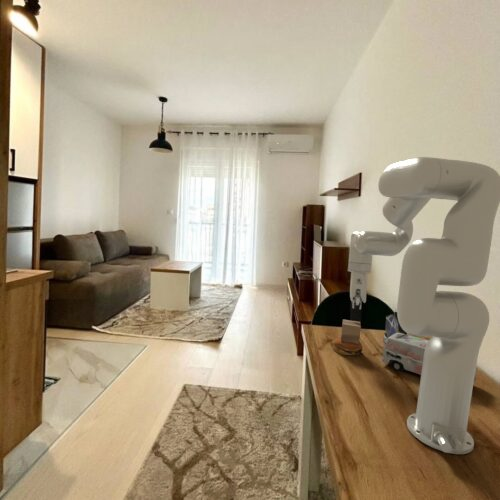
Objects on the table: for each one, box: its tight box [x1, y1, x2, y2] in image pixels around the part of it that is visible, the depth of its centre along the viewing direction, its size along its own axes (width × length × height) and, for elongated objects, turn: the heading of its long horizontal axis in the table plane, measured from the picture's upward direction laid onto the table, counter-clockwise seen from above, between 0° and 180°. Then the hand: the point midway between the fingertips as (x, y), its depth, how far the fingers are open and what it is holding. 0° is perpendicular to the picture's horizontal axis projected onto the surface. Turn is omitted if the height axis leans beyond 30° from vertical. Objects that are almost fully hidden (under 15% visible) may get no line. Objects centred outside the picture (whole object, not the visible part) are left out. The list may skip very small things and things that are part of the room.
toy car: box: [381, 333, 478, 386], centre depth 100 cm, size 11×25×10 cm, turn 47°
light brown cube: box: [340, 319, 362, 344], centre depth 114 cm, size 6×6×6 cm
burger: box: [332, 336, 363, 356], centre depth 115 cm, size 10×9×5 cm
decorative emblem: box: [382, 311, 408, 345], centre depth 117 cm, size 12×2×15 cm, turn 1°
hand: (354, 317), depth 112 cm, fingers open, 9 cm apart
